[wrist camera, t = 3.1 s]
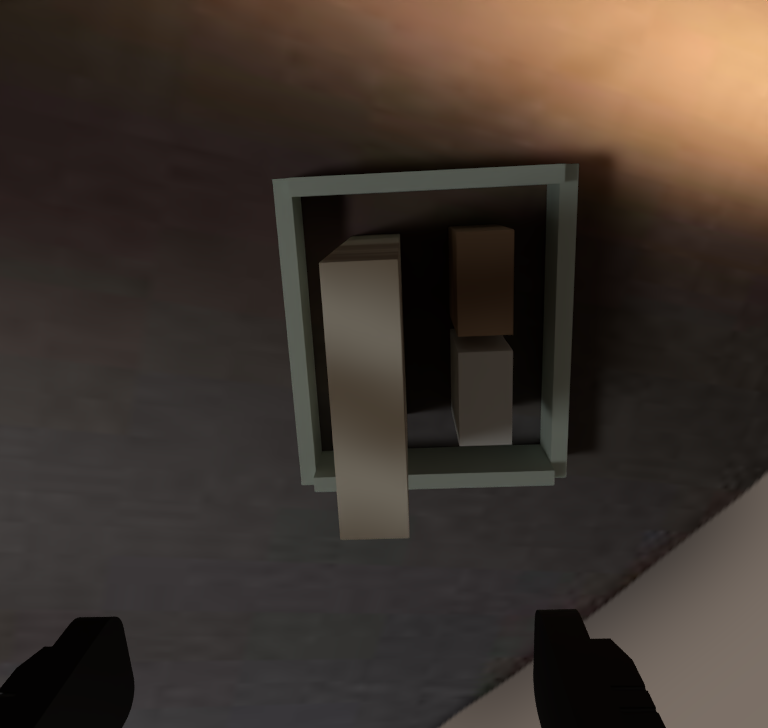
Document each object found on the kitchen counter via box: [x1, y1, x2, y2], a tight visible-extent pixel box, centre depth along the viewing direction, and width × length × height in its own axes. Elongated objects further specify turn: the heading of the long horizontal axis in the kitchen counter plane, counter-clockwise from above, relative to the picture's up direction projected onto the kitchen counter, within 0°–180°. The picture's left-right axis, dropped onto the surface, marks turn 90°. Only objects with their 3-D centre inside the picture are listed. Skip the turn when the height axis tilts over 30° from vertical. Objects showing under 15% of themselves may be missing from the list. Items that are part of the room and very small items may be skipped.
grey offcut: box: [450, 329, 513, 446], centre depth 36 cm, size 6×3×6 cm, turn 3°
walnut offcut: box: [448, 224, 514, 337], centre depth 34 cm, size 6×3×6 cm, turn 3°
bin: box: [272, 164, 579, 492], centre depth 36 cm, size 19×17×4 cm
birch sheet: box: [319, 234, 409, 540], centre depth 31 cm, size 12×3×15 cm, turn 3°
